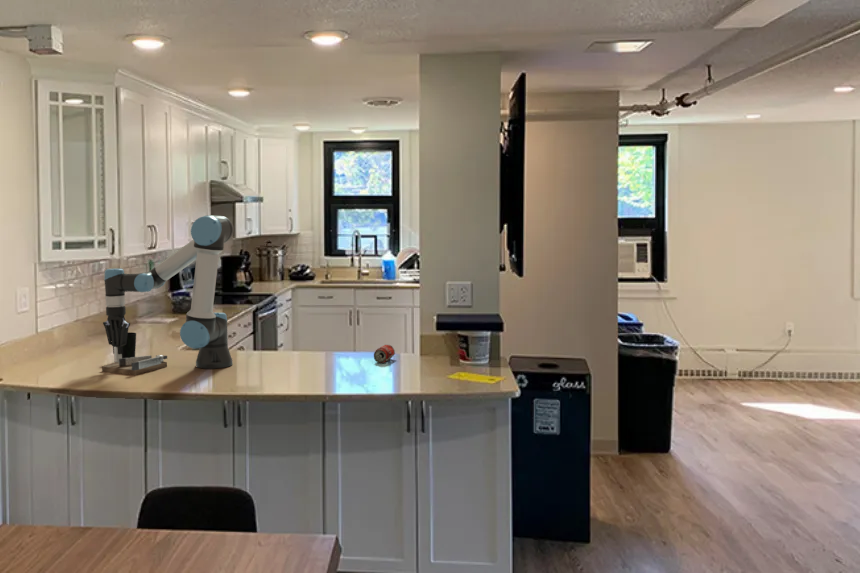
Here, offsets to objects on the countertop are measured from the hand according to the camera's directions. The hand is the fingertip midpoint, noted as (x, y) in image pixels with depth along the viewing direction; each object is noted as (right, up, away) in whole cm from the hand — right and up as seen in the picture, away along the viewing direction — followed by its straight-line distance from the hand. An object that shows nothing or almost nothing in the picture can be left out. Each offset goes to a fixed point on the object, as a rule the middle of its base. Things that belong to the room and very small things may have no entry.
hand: (118, 361), depth 316 cm
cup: (-4, -2, +21) cm, 21 cm away
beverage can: (+110, -2, +17) cm, 111 cm away
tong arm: (+7, -1, +1) cm, 7 cm away
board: (+6, -3, +2) cm, 7 cm away
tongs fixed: (+13, -2, -1) cm, 13 cm away
